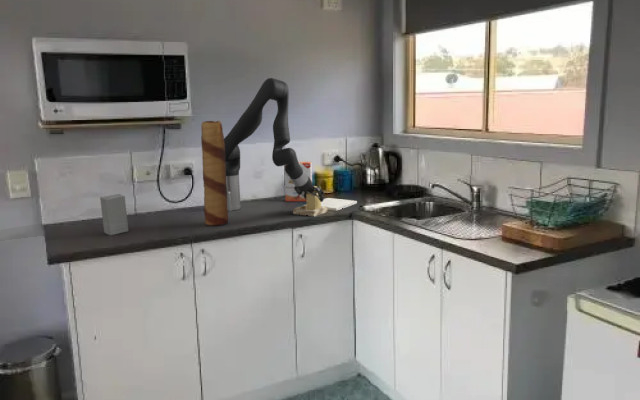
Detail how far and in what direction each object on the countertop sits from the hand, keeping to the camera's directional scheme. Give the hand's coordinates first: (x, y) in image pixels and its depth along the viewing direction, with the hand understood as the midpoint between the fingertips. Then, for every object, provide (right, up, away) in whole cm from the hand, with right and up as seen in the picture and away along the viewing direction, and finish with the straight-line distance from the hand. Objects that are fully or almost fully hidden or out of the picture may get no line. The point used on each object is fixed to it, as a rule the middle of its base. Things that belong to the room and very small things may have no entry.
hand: (315, 199), depth 249 cm
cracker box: (-9, -1, +27) cm, 28 cm away
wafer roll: (-43, -11, -20) cm, 49 cm away
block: (-1, -6, 0) cm, 6 cm away
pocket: (-2, -6, -2) cm, 7 cm away
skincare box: (-83, -14, -33) cm, 91 cm away
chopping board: (+8, -3, +14) cm, 17 cm away
